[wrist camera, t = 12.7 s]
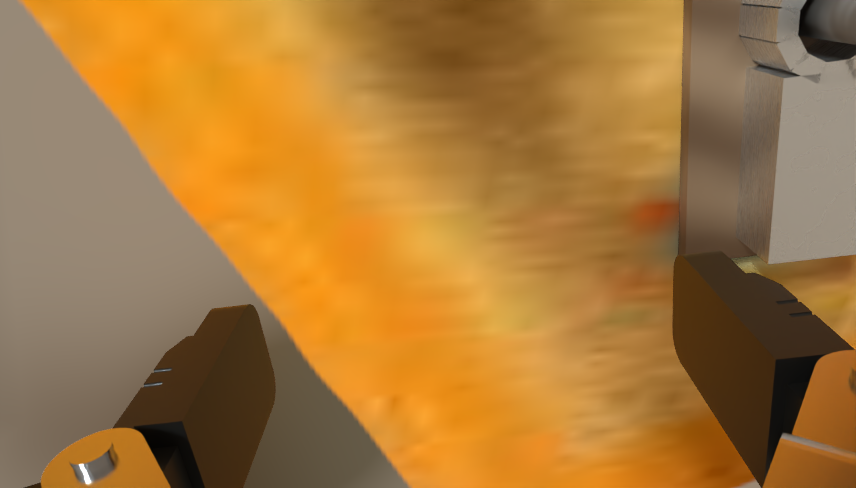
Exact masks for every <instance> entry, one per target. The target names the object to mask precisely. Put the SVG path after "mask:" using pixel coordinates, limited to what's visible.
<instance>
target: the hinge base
mask: <svg viewBox="0 0 856 488" xmlns="http://www.w3.org/2000/svg"><path fill="white" fill-rule="evenodd" d="M741 2H742V0H684V20H683V66H682V111H681V157H680V202H679V248H678V255H685V254H694V253H702V252H711V251H722V252H723V253H724V254H725V255H727V256H728V257H729V258H737V257H746V256H754V255H757V254H755V253H754V252H753V251H752V250H751V249H750V248H748V247H747V246H746V245H745V244H744V243H743V242H741V241H740V240H739V239H738V238H737V237H736V225H737V208H738V192H739V175H740V159H741V143H742V126H743V110H744V93H745V77H746V67H753V66H760V64H758V63H756V62H753V60H751V58H750V56H749V54H748V52H747V51H746V49H745V47H744V45H743V43H742V42H741V40H740V38H739V37H740V36H741V35H739V18H740V5H744V4H742V3H741ZM798 35H799V37H800V39H801V41H802V43H803V45H804V47H805V49H807V48H809V47H810V46H811V45H813V44H814V43H816V42H817V41H819V40H820V39H823V40H829V41H835V42H841V43H847V44H854V45H856V0H806V2H805V4H804V5H803V7H802V9H801V10H800V19H799V30H798Z"/></svg>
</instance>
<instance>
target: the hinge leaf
mask: <svg viewBox="0 0 856 488" xmlns="http://www.w3.org/2000/svg"><path fill="white" fill-rule="evenodd" d="M805 2H806V0H742V2H741V3H742V4H744V5H740V18H739V35H741V36H740V37H739V38H740V40H741V42H742V43H743V45H744V47H745V49H746V51H747V52H748V54H749V56H750V58H751V60H753V62H756V63H758V64H760V66H753V67H746V77H745V93H744V110H743V126H742V143H741V159H740V175H739V192H738V208H737V225H736V237H737V238H738V239H739V240H740V241H741V242H743V243H744V244H745V245H746V246H747V247H748V248H750V249H751V250H752V251H753V252H754V253H755V254H757V255H758V256H759V257H760V258H761V259H762V260H764V261H765V262H766V263H767V264H776V263H785V262H794V261H803V260H812V259H820V258H829V257H838V256H847V255H856V45H854V44H847V43H841V42H835V41H829V40H823V39H820V40H819V41H817V42H816V43H814V44H813V45H811V46H810V47H809V48H807V49H805V47H804V45H803V43H802V41H801V39H800V37H799V35H798V30H799V19H800V10H801V9H802V7H803V5H804V4H805Z"/></svg>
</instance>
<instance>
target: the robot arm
mask: <svg viewBox="0 0 856 488" xmlns="http://www.w3.org/2000/svg"><path fill="white" fill-rule="evenodd" d="M673 340H674V345H675V349H676V353H677V355H678V358H679V360H680V362H681V364H682V365H683V367H684V368H685V370H686V372H687V373H688V375H689V376H690V378H691V379H692V381H693V382H694V384H695V386H696V387H697V389H698V390H699V392H700V393H701V395H702V396H703V398H704V400H705V401H706V403H707V404H708V406H709V407H710V409H711V410H712V412H713V413H714V415H715V417H716V418H717V420H718V421H719V423H720V424H721V426H722V427H723V429H724V431H725V432H726V434H727V435H728V437H729V438H730V440H731V441H732V443H733V445H734V446H735V448H736V449H737V451H738V452H739V454H740V455H741V457H742V458H743V460H744V462H745V463H746V465H747V466H748V468H749V469H750V471H751V472H752V474H753V476H754V477H755V479H756V480H757V482H758V483H759V485H760V486H761V488H856V350H855V349H854V348H852V347H851V346H850V345H849V344H848V343H847V342H846V341H844V340H843V339H842V338H841V337H840V336H839V335H838V334H837V333H835V332H834V331H833V330H832V329H831V328H830V327H829V326H827V325H826V324H825V323H824V322H823V321H822V320H821V319H820V318H818V317H817V316H816V315H812V311H810V310H809V309H808V308H807V307H806V306H805V305H804V304H803V303H801V302H798V300H797V298H796V297H795V296H793V295H792V294H791V293H790V292H789V291H788V290H787V289H786V288H784V287H783V286H782V285H781V284H779V283H777V282H775V281H772V280H770V279H768V278H765V277H763V276H761V275H759V274H756V273H747V274H746V273H745V272H743V271H742V270H741V269H740V268H739V267H738V266H737V265H736V264H735V263H734V262H733V261H732V260H731V259H730V258H729V257H728V256H727V255H725V254H724V253H723V252H722V251H711V252H702V253H694V254H685V255H678V256H677V257H676V259H675V263H674V276H673ZM274 401H275V377H274V371H273V368H272V365H271V360H270V357H269V353H268V349H267V345H266V341H265V338H264V334H263V331H262V327H261V323H260V319H259V316H258V313H257V311H256V309H255V307H254V306H253V305H251V304H249V305H240V306H232V307H223V308H214V309H212V310H211V311H210V312H209V313H208V315H207V316H206V318H205V319H204V321H203V322H202V324H201V325H200V327H199V328H198V330H197V331H196V333H195V334H194V336H188V337H186V338H185V339H183V340H182V341H180V342H179V343H178V344H177V345H175V346H174V347H173V348H171V349H170V350H169V351H167V352H166V353H165V355H164V356H163V358H162V359H161V360H160V362H159V363H158V365H157V366H156V368H155V369H154V373H151V375H150V376H149V377H148V379H147V380H146V382H145V383H144V387H143V388H141V389H140V390H139V392H138V393H137V394H136V396H135V397H134V399H133V400H132V401H131V403H130V404H129V406H128V407H127V408H126V410H125V411H124V413H123V414H122V416H121V417H120V418H119V420H118V421H117V423H116V424H115V425H114V427H113V428H112V429H108V430H104V431H100V432H97V433H94V434H91V435H89V436H87V437H85V438H82V439H80V440H78V441H77V442H75V443H73V444H72V445H70V446H68V447H67V448H65V449H64V450H63V451H61V452H60V453H59V454H58V455H57V456H56V457H54V459H53V460H52V461H51V462H50V463H49V464H48V465H47V467H46V468H45V470H44V472H43V474H42V477H41V482H40V483H37V484H34V485H31V486H28V487H25V488H243V486H244V484H245V480H246V478H247V475H248V473H249V470H250V467H251V465H252V462H253V459H254V457H255V454H256V451H257V448H258V445H259V443H260V440H261V438H262V435H263V432H264V429H265V427H266V424H267V421H268V418H269V416H270V413H271V410H272V408H273V405H274Z"/></svg>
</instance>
